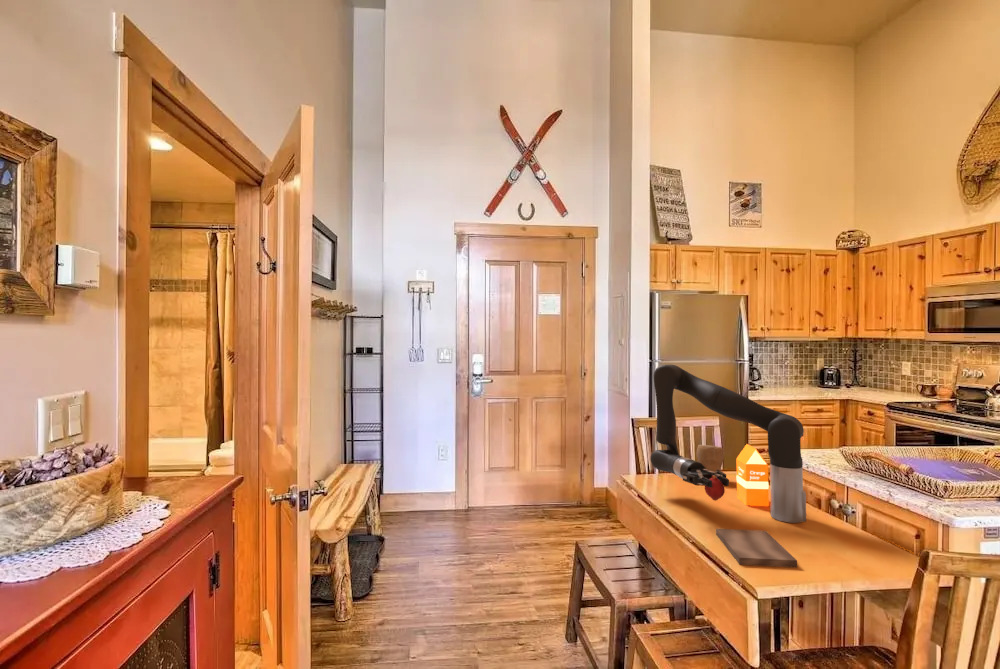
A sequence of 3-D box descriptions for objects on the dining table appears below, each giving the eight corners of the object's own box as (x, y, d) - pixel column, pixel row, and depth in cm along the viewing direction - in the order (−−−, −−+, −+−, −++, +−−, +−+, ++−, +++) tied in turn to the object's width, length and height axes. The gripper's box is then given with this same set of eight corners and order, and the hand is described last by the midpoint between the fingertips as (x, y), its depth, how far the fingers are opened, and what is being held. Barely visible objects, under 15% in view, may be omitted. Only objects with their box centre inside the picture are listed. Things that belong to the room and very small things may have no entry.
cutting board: (765, 536, 145) (765, 530, 145) (797, 567, 125) (797, 560, 125) (716, 534, 147) (715, 528, 147) (739, 564, 127) (739, 557, 127)
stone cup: (721, 477, 208) (720, 442, 209) (731, 485, 197) (730, 448, 197) (684, 476, 210) (684, 441, 210) (692, 484, 198) (691, 447, 199)
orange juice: (758, 498, 180) (757, 443, 181) (769, 506, 172) (768, 449, 172) (736, 497, 181) (735, 443, 182) (745, 505, 172) (745, 448, 173)
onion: (708, 496, 159) (707, 471, 160) (727, 499, 156) (726, 474, 156) (702, 501, 155) (701, 475, 155) (722, 504, 151) (721, 478, 151)
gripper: (669, 460, 168) (698, 473, 152) (707, 457, 171) (739, 469, 154) (670, 482, 168) (699, 497, 151) (708, 479, 171) (740, 493, 154)
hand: (719, 483), depth 153 cm, fingers closed on onion, 5 cm apart
